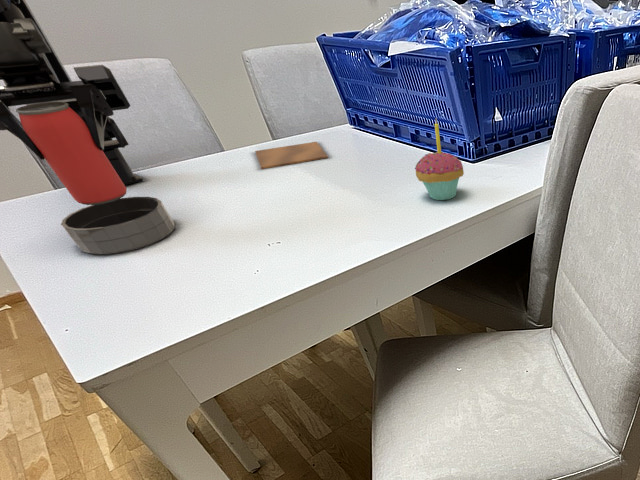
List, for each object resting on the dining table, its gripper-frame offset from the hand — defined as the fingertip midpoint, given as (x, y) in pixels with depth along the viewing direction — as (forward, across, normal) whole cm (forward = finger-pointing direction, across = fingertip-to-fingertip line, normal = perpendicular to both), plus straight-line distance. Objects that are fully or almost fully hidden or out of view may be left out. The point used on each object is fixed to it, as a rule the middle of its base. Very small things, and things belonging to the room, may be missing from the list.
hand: (71, 153), depth 62 cm
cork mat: (-12, +33, +30) cm, 46 cm away
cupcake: (+20, +48, -2) cm, 52 cm away
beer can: (+4, 0, +6) cm, 7 cm away
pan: (+8, 0, +10) cm, 13 cm away
